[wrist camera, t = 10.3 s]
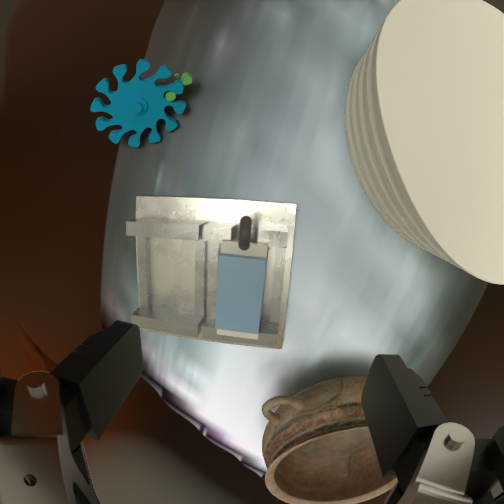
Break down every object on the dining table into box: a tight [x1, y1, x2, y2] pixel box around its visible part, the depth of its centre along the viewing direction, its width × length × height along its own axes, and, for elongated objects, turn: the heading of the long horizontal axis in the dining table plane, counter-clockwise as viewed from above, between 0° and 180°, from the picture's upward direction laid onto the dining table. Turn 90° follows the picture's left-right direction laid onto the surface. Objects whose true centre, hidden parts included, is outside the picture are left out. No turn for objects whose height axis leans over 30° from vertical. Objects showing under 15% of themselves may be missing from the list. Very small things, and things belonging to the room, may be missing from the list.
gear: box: [91, 59, 192, 147], centre depth 26 cm, size 11×6×10 cm
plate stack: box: [345, 0, 504, 284], centre depth 20 cm, size 28×28×12 cm
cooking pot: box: [262, 376, 398, 504], centre depth 28 cm, size 25×19×12 cm
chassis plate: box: [126, 196, 296, 349], centre depth 30 cm, size 16×17×5 cm
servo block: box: [215, 216, 269, 340], centre depth 28 cm, size 12×4×5 cm, turn 175°
